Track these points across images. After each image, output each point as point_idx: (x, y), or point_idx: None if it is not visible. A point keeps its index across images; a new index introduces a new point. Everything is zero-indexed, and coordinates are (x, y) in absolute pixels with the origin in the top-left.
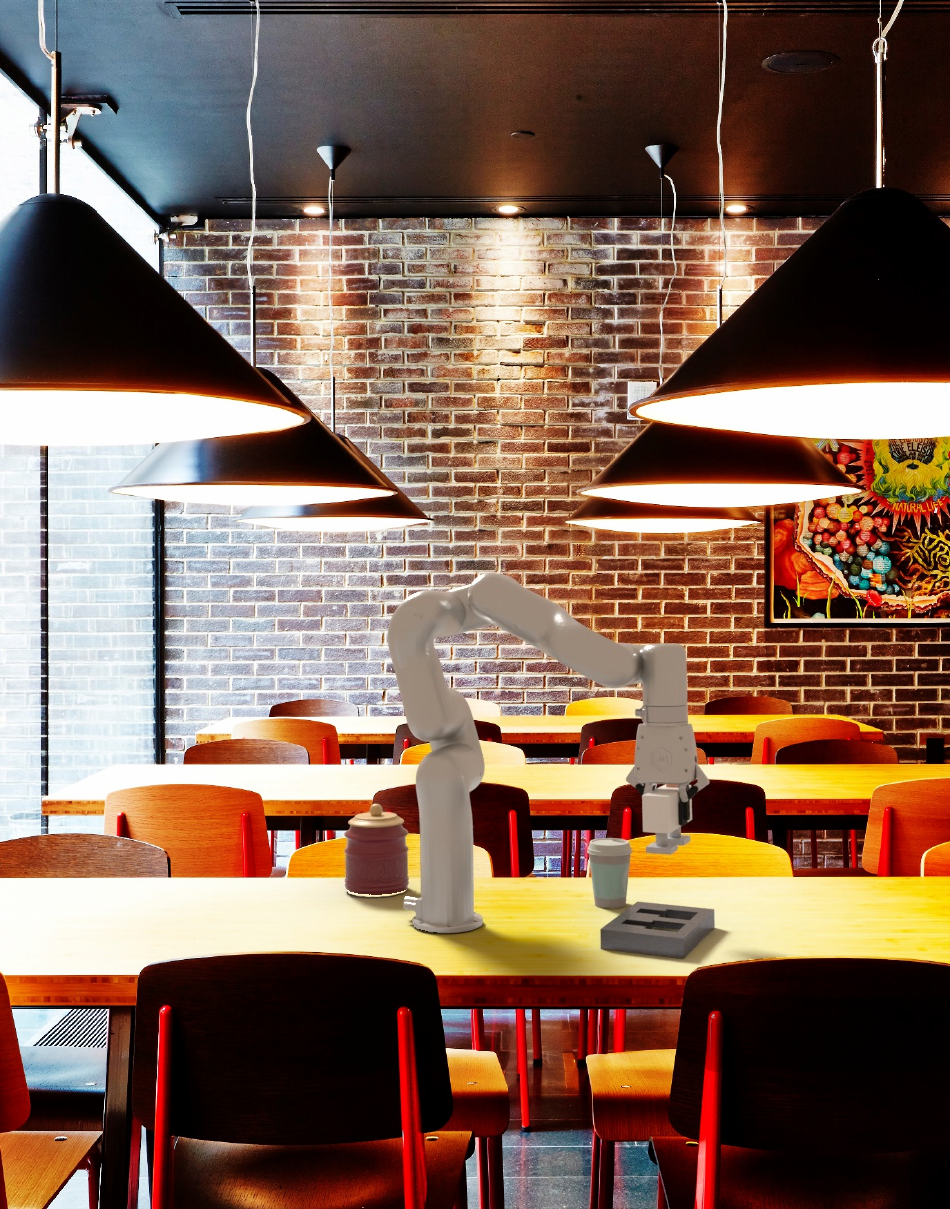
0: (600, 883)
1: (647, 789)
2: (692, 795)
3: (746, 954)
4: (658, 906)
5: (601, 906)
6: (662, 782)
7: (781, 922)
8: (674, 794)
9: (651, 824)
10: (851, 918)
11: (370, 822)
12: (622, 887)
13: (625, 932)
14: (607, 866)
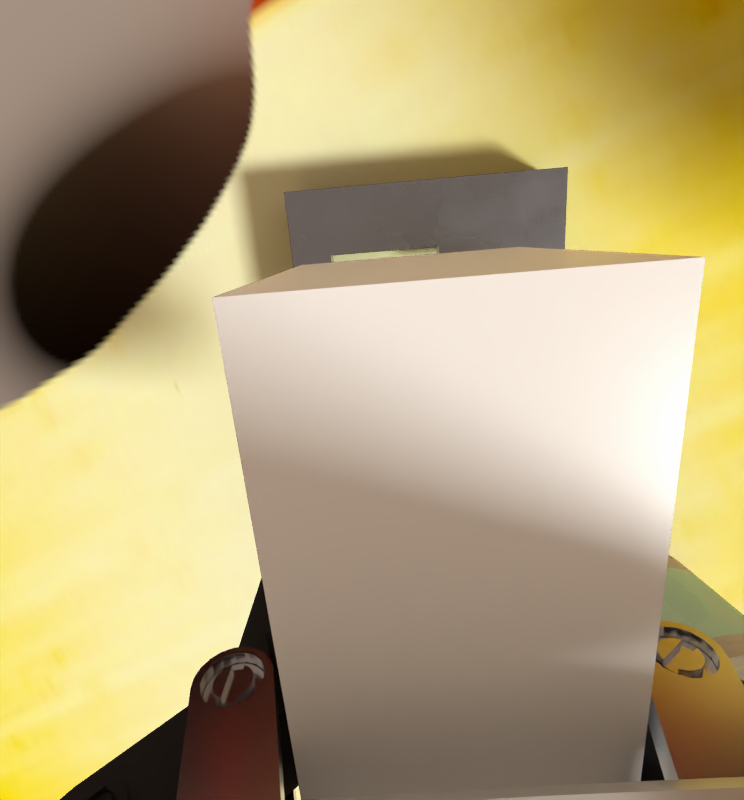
0: (704, 593)
1: (722, 732)
2: (142, 740)
3: (169, 323)
4: None
5: None
6: (497, 796)
7: (210, 614)
8: (268, 596)
9: (456, 254)
10: (93, 700)
11: None
12: None
13: (478, 175)
14: (714, 632)
